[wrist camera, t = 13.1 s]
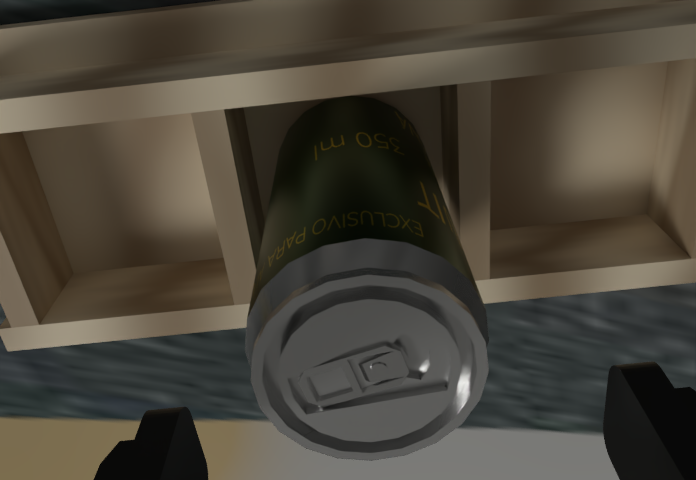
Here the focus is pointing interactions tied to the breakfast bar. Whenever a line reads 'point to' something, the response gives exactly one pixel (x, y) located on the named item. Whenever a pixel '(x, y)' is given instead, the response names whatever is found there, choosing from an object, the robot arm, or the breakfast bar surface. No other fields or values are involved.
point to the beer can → (362, 291)
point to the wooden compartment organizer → (299, 96)
